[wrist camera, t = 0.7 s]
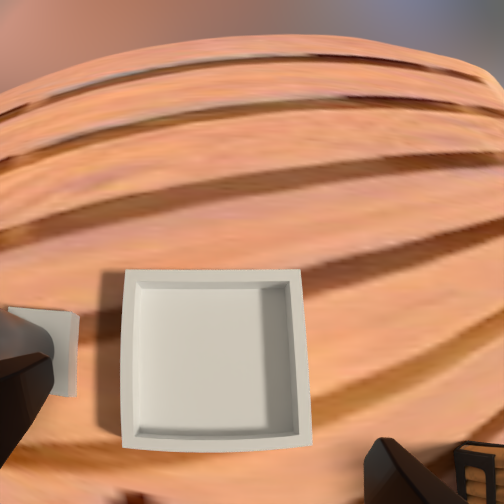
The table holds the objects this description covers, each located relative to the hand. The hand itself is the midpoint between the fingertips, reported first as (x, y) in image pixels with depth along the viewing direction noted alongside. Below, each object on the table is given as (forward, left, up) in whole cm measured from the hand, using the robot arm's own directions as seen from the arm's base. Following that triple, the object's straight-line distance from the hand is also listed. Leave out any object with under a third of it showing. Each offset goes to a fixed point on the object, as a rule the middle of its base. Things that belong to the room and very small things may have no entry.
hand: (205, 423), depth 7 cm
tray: (+2, 0, -14) cm, 14 cm away
